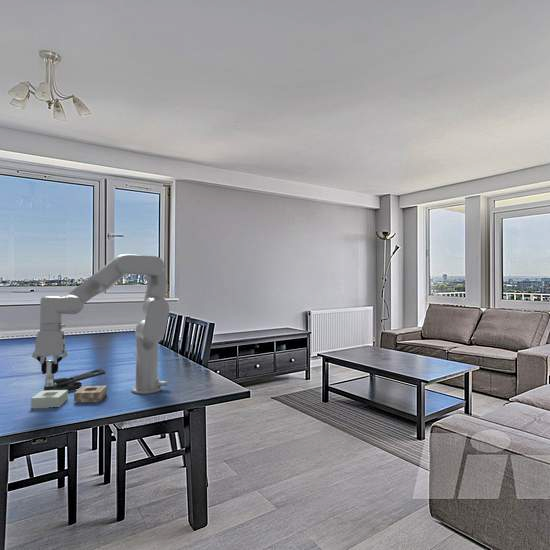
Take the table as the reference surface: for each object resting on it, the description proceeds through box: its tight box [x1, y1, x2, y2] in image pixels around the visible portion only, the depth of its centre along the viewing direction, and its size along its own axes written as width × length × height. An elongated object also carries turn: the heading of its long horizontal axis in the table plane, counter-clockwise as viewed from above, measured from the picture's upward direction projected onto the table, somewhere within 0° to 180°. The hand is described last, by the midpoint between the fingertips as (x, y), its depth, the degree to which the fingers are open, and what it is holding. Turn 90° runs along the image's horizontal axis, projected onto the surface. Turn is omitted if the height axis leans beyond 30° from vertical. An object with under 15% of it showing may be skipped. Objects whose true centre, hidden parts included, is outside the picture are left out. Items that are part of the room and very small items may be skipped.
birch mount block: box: [73, 385, 107, 403], centre depth 169 cm, size 10×10×4 cm
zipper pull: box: [43, 368, 106, 392], centre depth 184 cm, size 9×7×25 cm
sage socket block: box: [30, 390, 69, 409], centre depth 162 cm, size 10×10×4 cm
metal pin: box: [44, 359, 55, 387], centre depth 162 cm, size 3×3×10 cm
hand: (49, 372), depth 162 cm, fingers closed on metal pin, 3 cm apart
